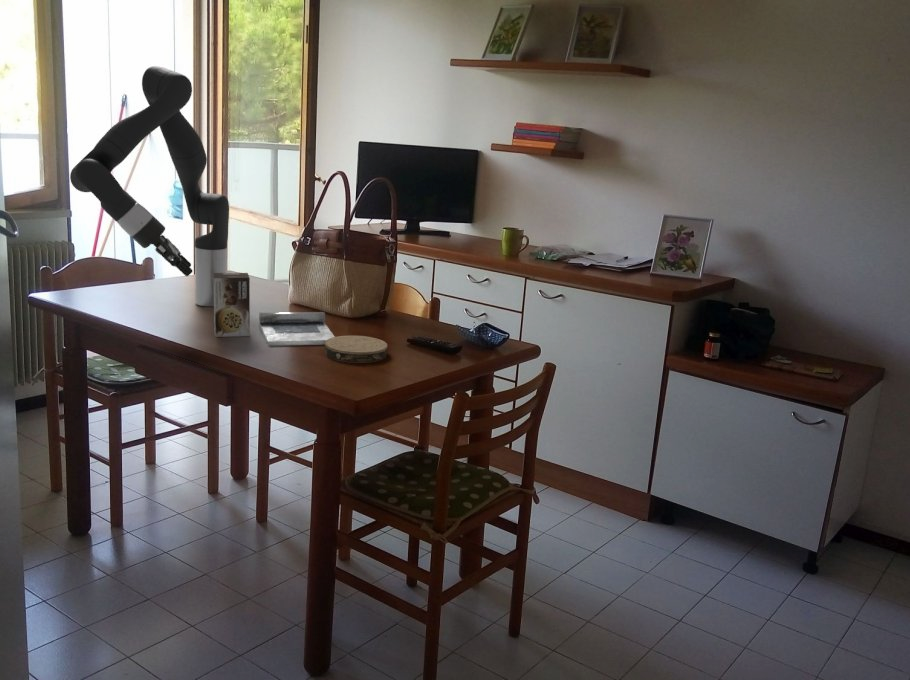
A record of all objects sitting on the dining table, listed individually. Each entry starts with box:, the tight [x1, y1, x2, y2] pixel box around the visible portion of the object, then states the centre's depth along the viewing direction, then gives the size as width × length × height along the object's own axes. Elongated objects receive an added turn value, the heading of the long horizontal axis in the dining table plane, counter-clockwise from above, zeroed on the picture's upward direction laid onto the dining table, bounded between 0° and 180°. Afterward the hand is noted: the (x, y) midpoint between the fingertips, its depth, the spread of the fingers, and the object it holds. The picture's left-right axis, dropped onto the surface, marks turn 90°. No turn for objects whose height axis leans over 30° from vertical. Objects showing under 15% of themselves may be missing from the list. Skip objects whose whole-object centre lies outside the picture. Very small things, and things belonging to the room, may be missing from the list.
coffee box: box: [213, 272, 251, 338], centre depth 221 cm, size 9×6×16 cm
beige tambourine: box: [324, 335, 388, 364], centre depth 213 cm, size 16×16×3 cm
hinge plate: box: [258, 311, 336, 347], centre depth 226 cm, size 20×18×4 cm
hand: (189, 270), depth 215 cm, fingers open, 8 cm apart
